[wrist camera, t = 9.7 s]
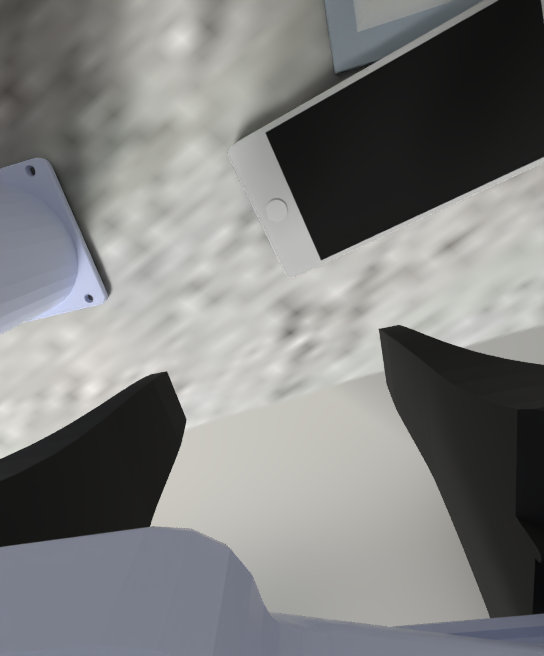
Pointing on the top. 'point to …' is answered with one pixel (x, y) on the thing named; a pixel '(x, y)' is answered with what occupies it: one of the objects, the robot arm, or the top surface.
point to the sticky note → (380, 32)
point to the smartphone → (401, 136)
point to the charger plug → (389, 10)
